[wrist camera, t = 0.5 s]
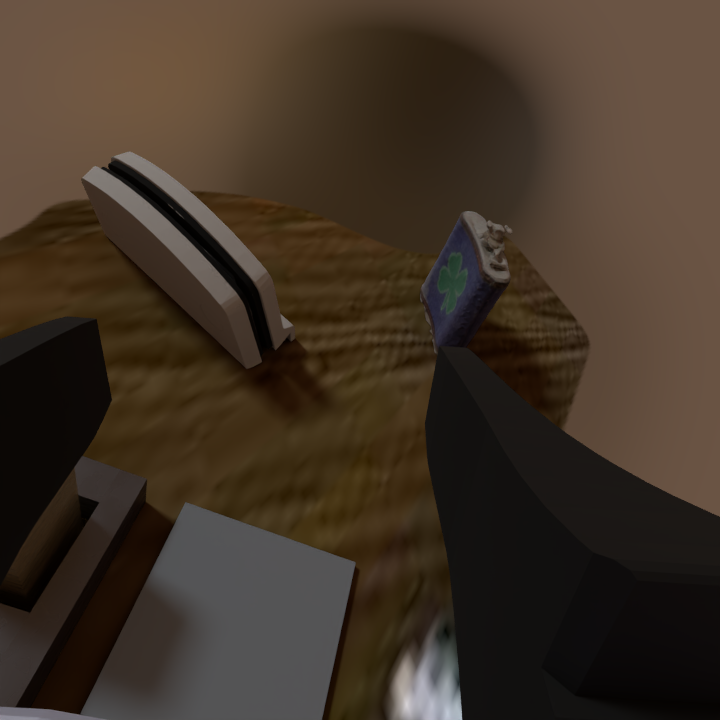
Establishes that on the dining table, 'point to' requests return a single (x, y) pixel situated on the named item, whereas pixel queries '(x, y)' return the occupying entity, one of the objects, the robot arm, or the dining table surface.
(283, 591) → the mat
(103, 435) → the dining table surface
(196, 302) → the grey rounded block
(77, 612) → the double cubby frame
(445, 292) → the flask
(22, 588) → the tan rectangular block
